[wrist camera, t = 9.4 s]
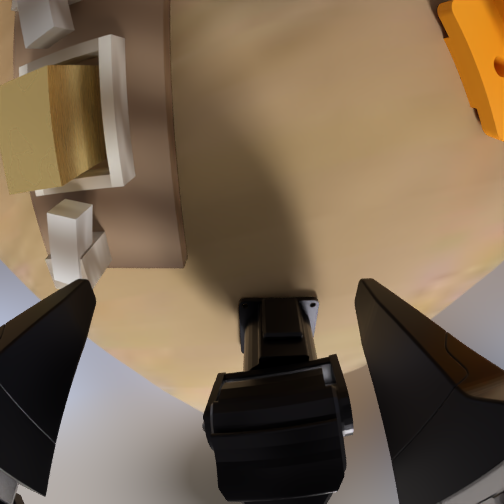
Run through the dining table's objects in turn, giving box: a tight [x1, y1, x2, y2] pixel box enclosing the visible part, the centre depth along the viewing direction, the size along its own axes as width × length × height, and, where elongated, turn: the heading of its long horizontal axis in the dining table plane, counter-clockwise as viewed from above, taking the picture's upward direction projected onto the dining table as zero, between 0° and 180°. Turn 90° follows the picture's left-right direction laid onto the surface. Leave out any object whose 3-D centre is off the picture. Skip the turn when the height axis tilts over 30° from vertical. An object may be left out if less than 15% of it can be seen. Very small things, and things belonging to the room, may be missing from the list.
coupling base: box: [11, 0, 187, 289], centre depth 15 cm, size 23×12×6 cm, turn 1°
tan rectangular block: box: [0, 65, 107, 195], centre depth 13 cm, size 6×4×6 cm, turn 1°
